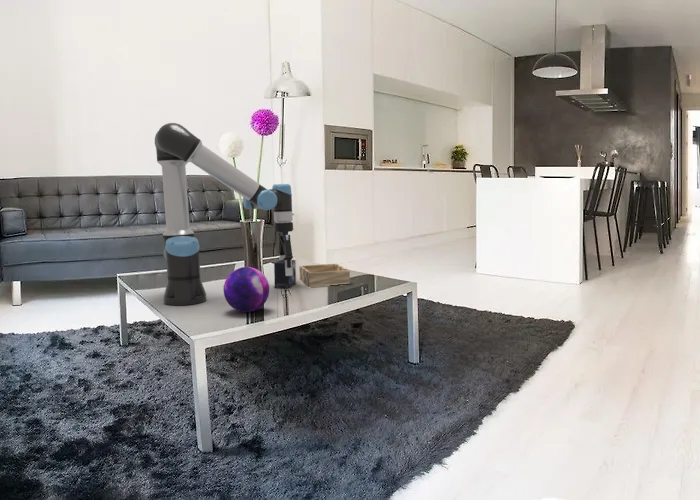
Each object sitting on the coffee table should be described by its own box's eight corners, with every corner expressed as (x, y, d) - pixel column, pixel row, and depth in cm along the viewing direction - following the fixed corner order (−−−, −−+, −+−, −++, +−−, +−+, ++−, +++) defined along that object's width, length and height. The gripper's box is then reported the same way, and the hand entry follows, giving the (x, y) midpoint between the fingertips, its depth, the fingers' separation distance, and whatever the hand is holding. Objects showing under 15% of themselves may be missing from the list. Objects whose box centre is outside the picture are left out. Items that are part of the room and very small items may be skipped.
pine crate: (349, 284, 237) (349, 270, 236) (309, 287, 232) (309, 273, 232) (337, 276, 257) (336, 263, 256) (299, 279, 252) (299, 265, 252)
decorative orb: (245, 305, 202) (243, 262, 200) (279, 309, 194) (277, 265, 192) (215, 313, 189) (212, 269, 187) (249, 318, 181) (248, 271, 180)
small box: (289, 288, 231) (288, 263, 230) (274, 288, 233) (273, 262, 231) (297, 284, 242) (296, 259, 240) (282, 283, 243) (281, 259, 242)
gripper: (298, 223, 223) (300, 277, 226) (287, 219, 247) (289, 268, 250) (279, 224, 221) (282, 278, 224) (270, 220, 245) (272, 269, 248)
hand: (286, 273), depth 237 cm, fingers open, 13 cm apart
